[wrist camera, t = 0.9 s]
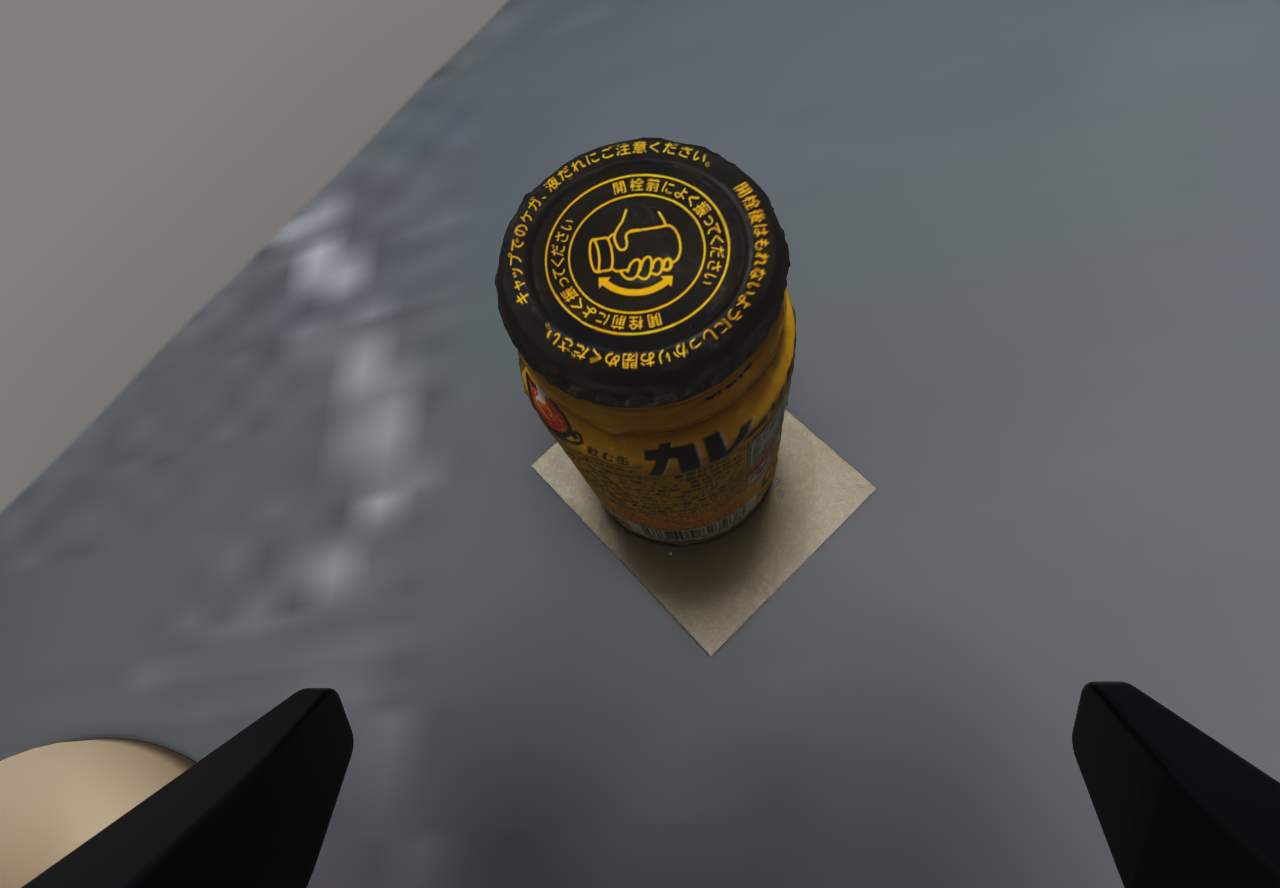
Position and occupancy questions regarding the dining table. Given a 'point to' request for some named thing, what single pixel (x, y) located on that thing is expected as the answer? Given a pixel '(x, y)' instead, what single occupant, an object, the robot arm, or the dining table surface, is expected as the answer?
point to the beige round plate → (72, 797)
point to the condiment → (671, 375)
